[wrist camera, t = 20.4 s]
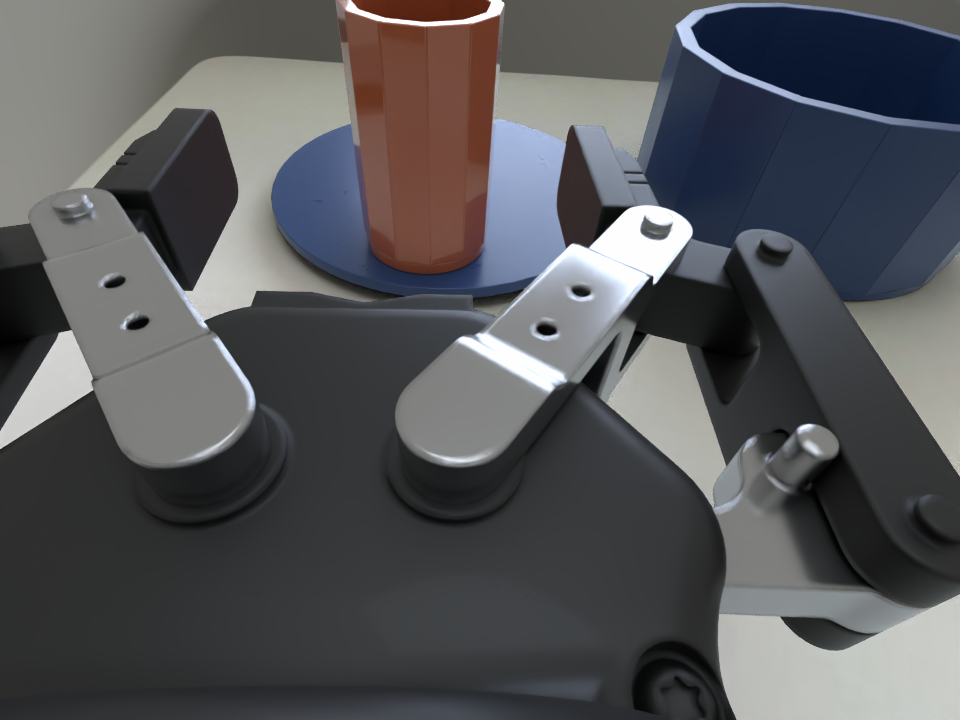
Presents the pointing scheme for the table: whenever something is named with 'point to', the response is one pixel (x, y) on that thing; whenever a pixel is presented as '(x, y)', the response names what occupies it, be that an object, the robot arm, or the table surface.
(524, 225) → the lid
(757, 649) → the table surface
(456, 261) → the cup
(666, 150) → the pot
